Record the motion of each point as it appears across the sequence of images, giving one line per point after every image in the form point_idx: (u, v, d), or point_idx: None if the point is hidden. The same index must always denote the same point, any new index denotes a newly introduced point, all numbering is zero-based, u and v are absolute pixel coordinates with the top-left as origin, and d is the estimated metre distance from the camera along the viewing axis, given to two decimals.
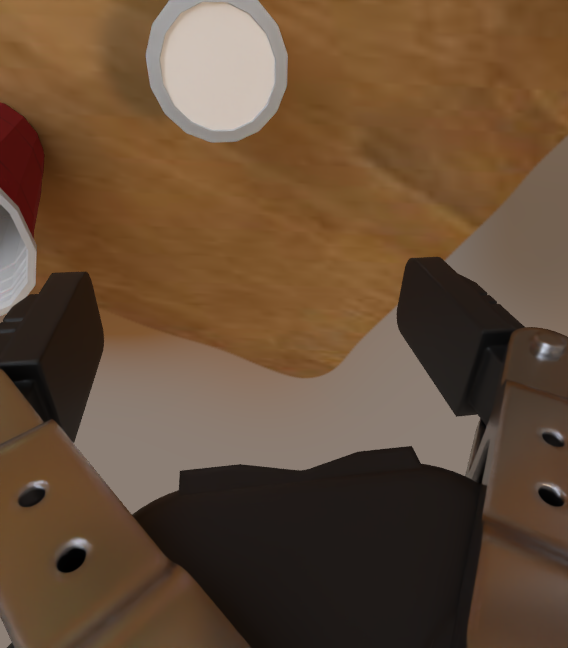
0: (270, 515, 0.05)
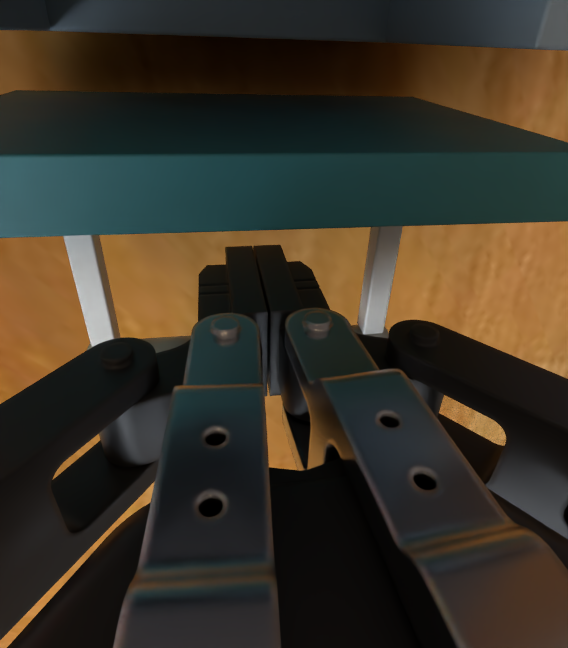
0: None
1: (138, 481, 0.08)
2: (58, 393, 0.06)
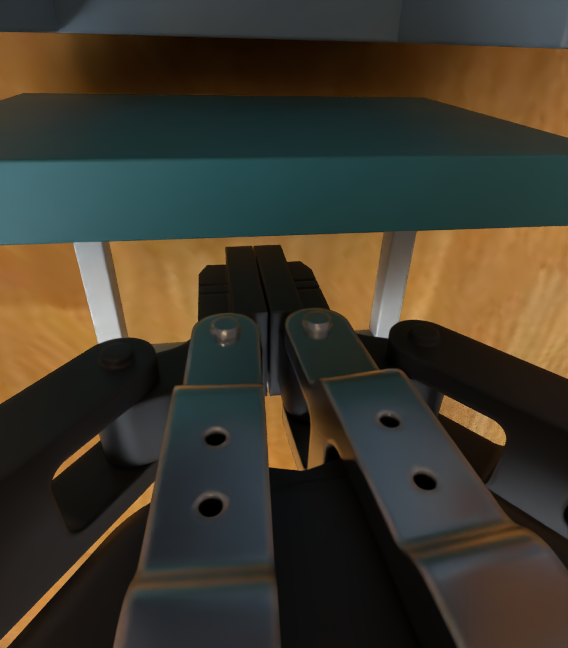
0: None
1: (137, 482, 0.08)
2: (58, 393, 0.06)
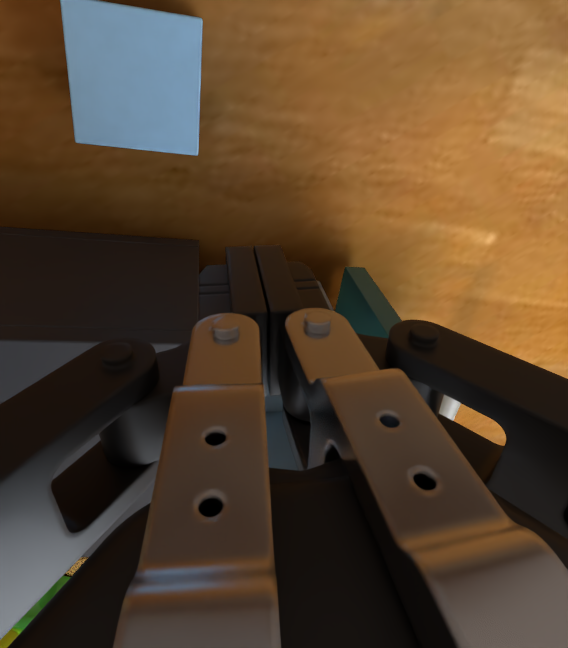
0: None
1: (138, 481, 0.08)
2: (58, 393, 0.06)
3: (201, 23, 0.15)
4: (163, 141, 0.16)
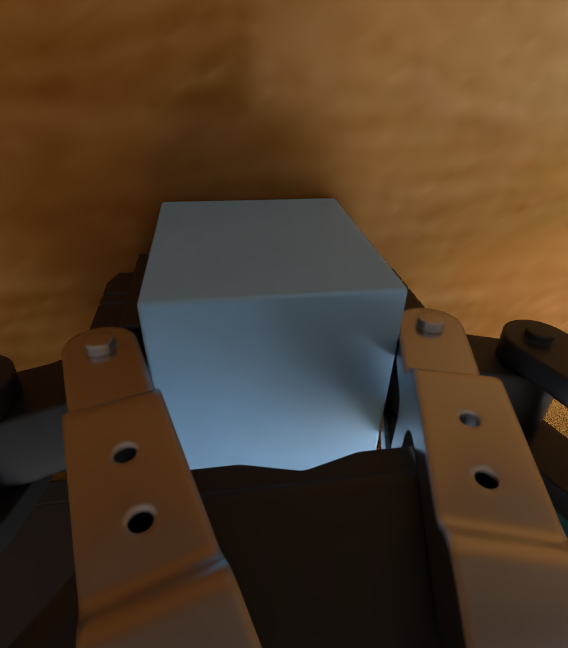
0: (270, 515, 0.05)
1: (21, 502, 0.07)
2: None
3: (405, 296, 0.07)
4: (318, 458, 0.09)
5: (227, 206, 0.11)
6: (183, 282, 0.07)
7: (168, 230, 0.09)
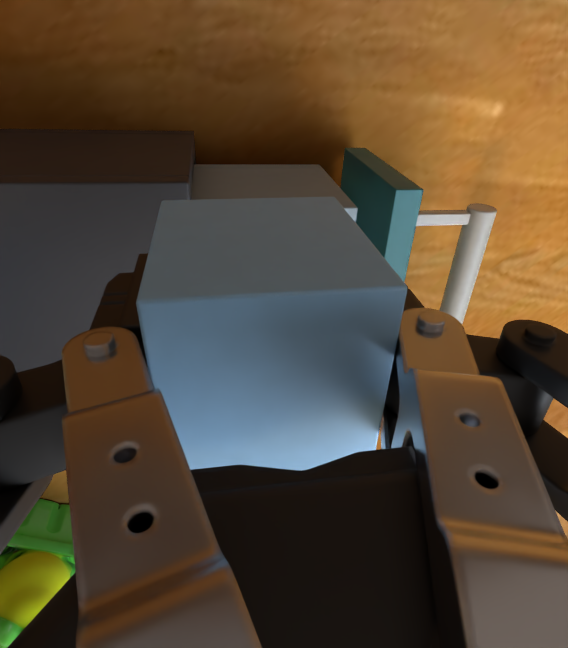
0: (270, 515, 0.05)
1: (21, 502, 0.07)
2: None
3: (405, 294, 0.07)
4: (318, 457, 0.09)
5: (227, 205, 0.11)
6: (183, 280, 0.07)
7: (167, 228, 0.09)
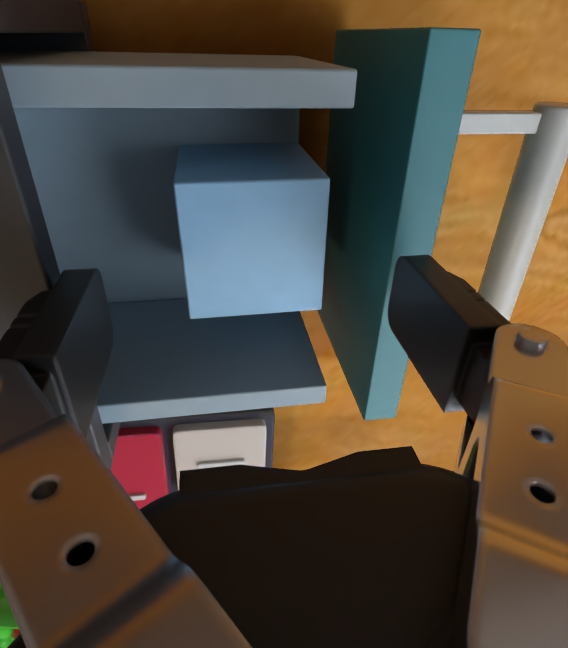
0: (270, 515, 0.05)
1: None
2: None
3: (329, 183, 0.13)
4: (284, 302, 0.15)
5: (224, 146, 0.16)
6: (198, 175, 0.13)
7: (186, 157, 0.14)
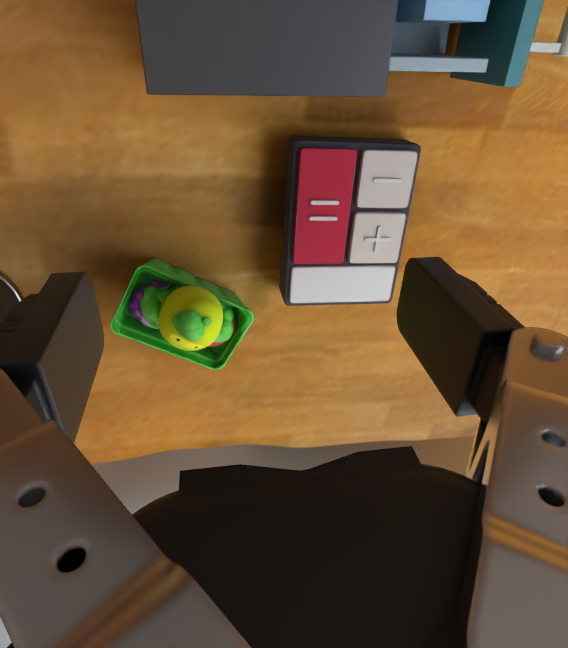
0: (270, 515, 0.05)
1: None
2: None
3: None
4: (469, 13, 0.29)
5: None
6: None
7: None
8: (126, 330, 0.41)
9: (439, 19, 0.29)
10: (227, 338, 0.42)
